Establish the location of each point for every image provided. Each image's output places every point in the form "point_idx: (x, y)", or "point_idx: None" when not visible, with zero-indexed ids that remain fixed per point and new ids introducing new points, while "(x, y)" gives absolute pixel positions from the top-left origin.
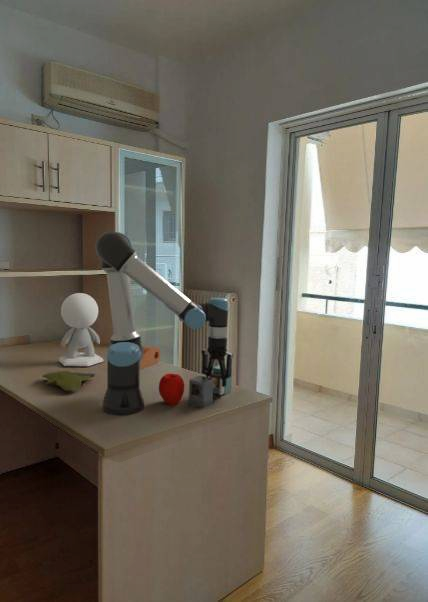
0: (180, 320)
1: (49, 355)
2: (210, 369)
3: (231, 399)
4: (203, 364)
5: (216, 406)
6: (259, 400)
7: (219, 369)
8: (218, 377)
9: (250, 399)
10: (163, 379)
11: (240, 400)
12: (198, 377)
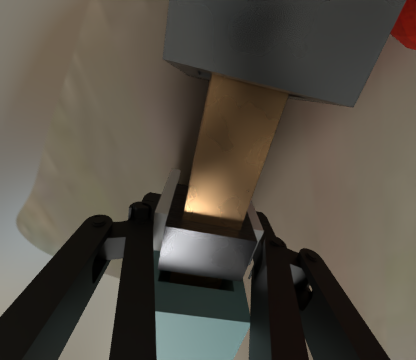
0: None
1: None
2: (262, 283)
3: (132, 174)
4: (353, 323)
5: (159, 52)
6: (26, 202)
7: (195, 312)
8: (178, 220)
9: (63, 200)
10: None
11: (93, 176)
12: (358, 11)
